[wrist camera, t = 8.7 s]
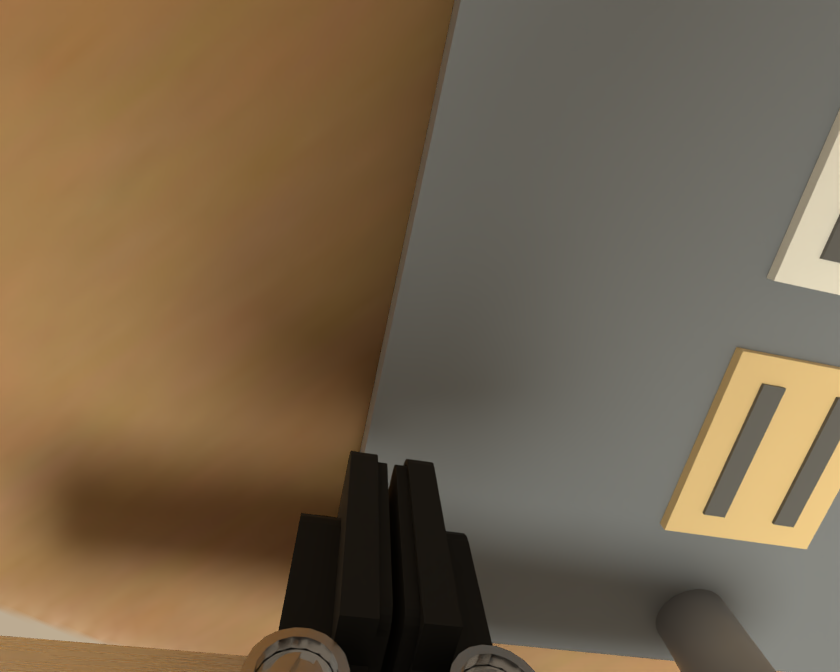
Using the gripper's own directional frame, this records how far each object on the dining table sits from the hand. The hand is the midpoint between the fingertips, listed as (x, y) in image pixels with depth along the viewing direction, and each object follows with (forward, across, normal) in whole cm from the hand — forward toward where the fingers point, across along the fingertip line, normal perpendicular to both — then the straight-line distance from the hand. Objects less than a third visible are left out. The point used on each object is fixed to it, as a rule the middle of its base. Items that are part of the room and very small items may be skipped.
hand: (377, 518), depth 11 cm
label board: (+6, -10, -3) cm, 12 cm away
